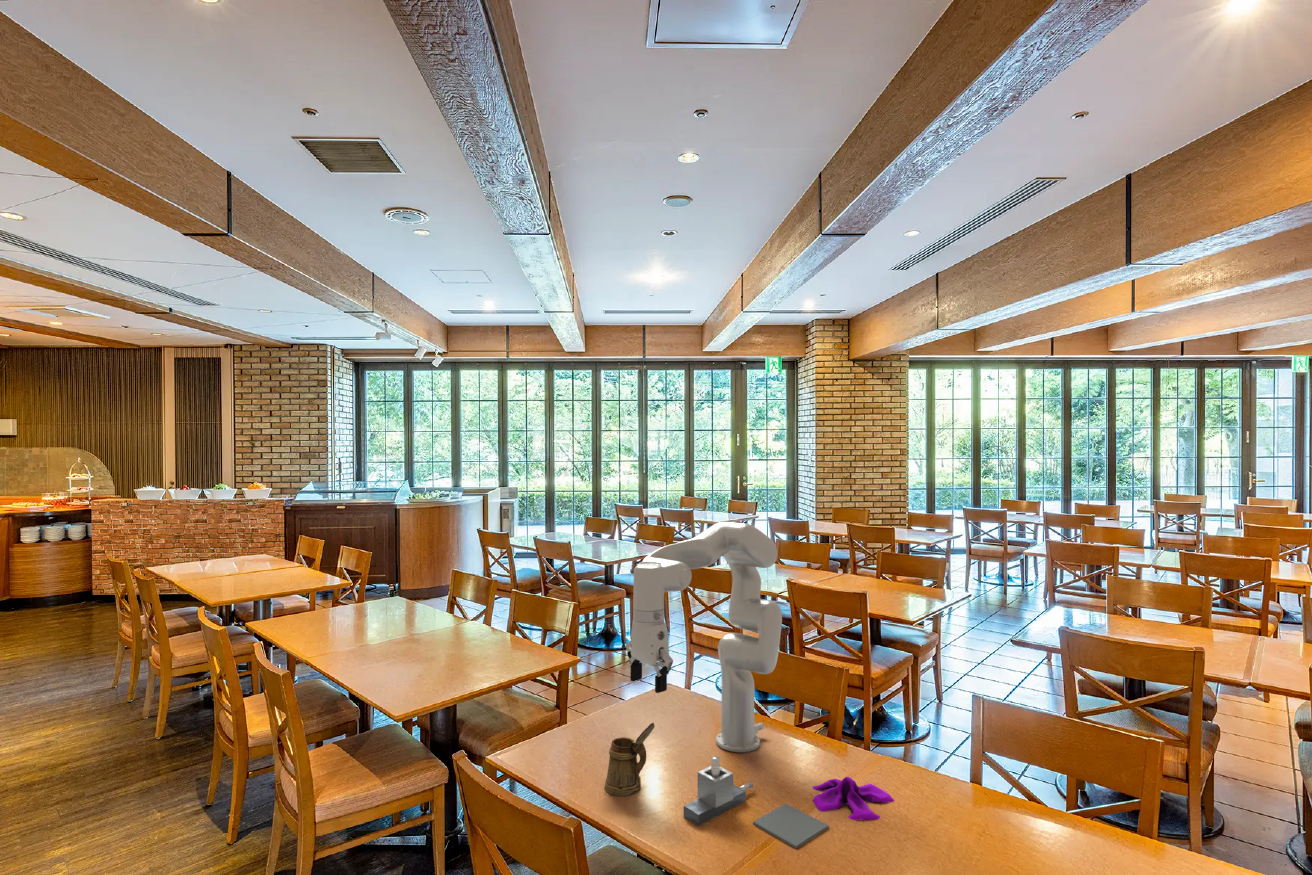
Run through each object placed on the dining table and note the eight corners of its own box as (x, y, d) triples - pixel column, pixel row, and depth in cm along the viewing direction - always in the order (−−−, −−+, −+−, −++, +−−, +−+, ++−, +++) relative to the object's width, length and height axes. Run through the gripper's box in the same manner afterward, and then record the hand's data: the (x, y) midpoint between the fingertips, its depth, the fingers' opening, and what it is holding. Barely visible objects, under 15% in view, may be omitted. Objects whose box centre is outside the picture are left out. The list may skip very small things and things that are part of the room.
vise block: (744, 786, 164) (744, 738, 164) (759, 794, 160) (759, 745, 161) (683, 816, 150) (683, 764, 151) (698, 825, 147) (698, 772, 147)
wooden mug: (643, 805, 155) (644, 729, 156) (597, 789, 162) (598, 717, 162) (662, 788, 163) (662, 716, 163) (617, 774, 170) (618, 705, 170)
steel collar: (715, 788, 158) (715, 763, 158) (733, 798, 153) (733, 773, 154) (697, 797, 154) (697, 771, 154) (715, 807, 150) (715, 781, 150)
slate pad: (786, 805, 155) (786, 802, 155) (828, 827, 146) (828, 824, 146) (753, 824, 147) (753, 821, 147) (795, 848, 138) (795, 845, 138)
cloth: (896, 793, 162) (896, 768, 162) (887, 831, 146) (887, 804, 146) (808, 772, 172) (808, 749, 173) (789, 806, 156) (789, 781, 156)
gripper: (683, 620, 154) (683, 692, 153) (639, 606, 167) (639, 672, 167) (659, 625, 149) (658, 700, 149) (615, 610, 163) (615, 679, 162)
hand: (648, 685), depth 158 cm, fingers open, 9 cm apart
